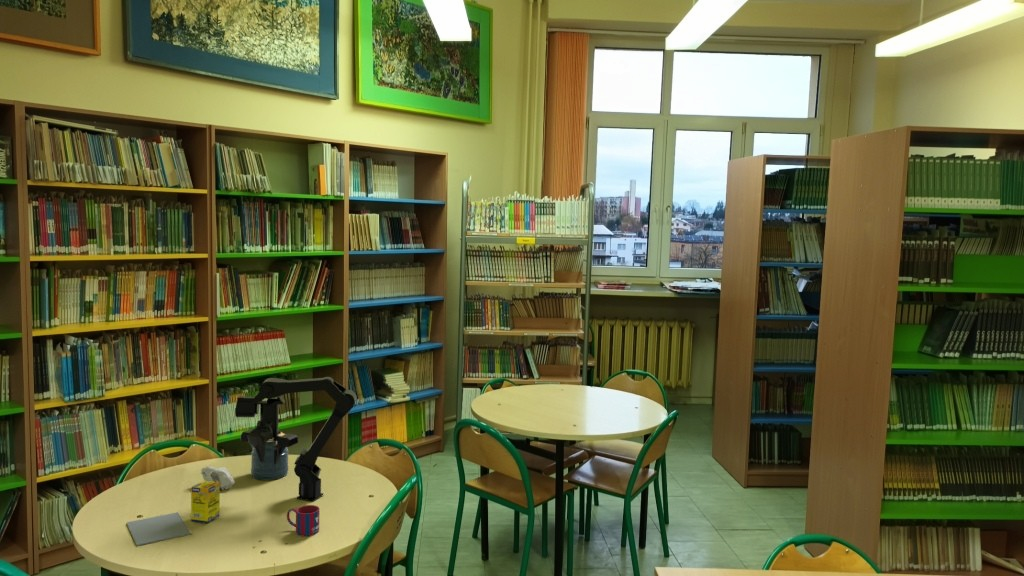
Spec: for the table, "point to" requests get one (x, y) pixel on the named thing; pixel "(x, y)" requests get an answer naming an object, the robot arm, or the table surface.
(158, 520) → the mat
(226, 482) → the skull
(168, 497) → the table surface
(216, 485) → the supplement box
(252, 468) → the canister
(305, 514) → the mug
